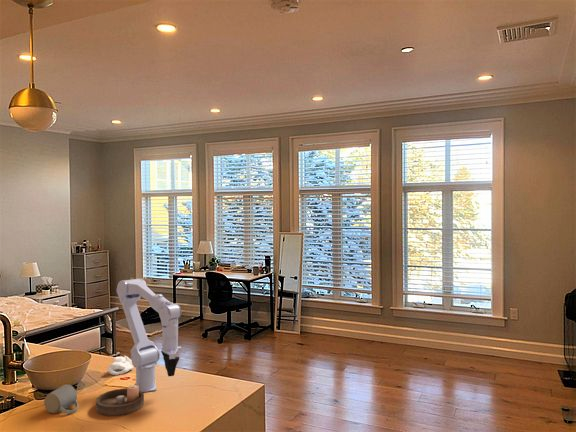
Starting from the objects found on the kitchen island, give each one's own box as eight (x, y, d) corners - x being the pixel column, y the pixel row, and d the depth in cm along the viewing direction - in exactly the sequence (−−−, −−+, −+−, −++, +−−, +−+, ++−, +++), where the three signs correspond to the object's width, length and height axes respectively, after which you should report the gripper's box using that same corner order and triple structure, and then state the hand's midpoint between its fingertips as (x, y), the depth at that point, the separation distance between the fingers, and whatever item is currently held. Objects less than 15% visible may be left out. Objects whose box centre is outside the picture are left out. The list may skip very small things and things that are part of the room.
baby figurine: (108, 378, 188) (102, 359, 191) (120, 379, 199) (114, 361, 202) (127, 368, 189) (121, 350, 192) (138, 370, 200) (132, 352, 203)
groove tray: (96, 400, 164) (97, 391, 164) (142, 394, 170) (142, 386, 170) (95, 419, 150) (95, 409, 150) (144, 412, 155) (144, 402, 155)
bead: (127, 399, 163) (127, 385, 163) (138, 398, 164) (138, 384, 164) (126, 404, 159) (127, 389, 159) (138, 402, 160) (138, 388, 160)
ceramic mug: (42, 413, 154) (42, 390, 154) (60, 403, 162) (61, 382, 161) (66, 418, 150) (66, 395, 150) (84, 408, 158) (84, 386, 158)
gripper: (183, 340, 163) (183, 377, 163) (178, 330, 176) (178, 365, 176) (163, 342, 160) (163, 380, 160) (160, 332, 174) (159, 367, 174)
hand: (169, 372), depth 168 cm, fingers open, 7 cm apart
